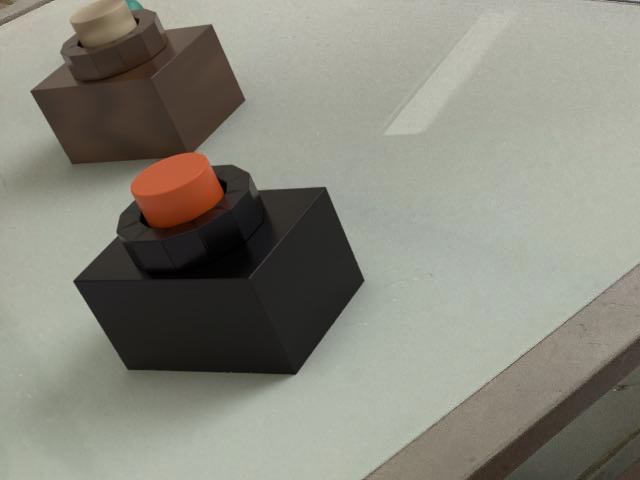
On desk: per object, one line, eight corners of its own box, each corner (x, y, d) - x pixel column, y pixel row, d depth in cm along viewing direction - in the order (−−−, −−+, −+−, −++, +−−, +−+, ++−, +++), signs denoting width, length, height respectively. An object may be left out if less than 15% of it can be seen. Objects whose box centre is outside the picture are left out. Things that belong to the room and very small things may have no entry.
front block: (127, 370, 62) (52, 250, 57) (204, 282, 67) (141, 164, 62) (296, 375, 57) (231, 245, 52) (365, 281, 62) (312, 153, 57)
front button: (133, 232, 57) (113, 197, 55) (176, 188, 59) (158, 154, 58) (197, 230, 55) (179, 194, 54) (239, 185, 58) (222, 149, 56)
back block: (71, 165, 85) (15, 66, 80) (131, 110, 90) (81, 14, 84) (189, 157, 80) (137, 51, 75) (246, 100, 85) (200, -3, 80)
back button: (72, 53, 80) (57, 25, 78) (105, 27, 82) (91, -1, 81) (116, 48, 78) (102, 19, 77) (148, 21, 80) (135, -7, 79)
